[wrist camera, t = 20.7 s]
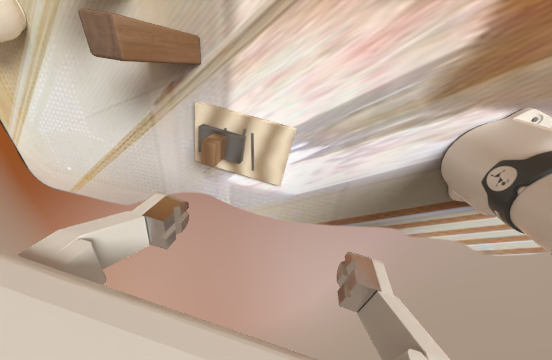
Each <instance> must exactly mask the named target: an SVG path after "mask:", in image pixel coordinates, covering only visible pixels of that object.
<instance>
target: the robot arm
mask: <svg viewBox="0 0 552 360" xmlns="http://www.w3.org/2000/svg"><path fill="white" fill-rule="evenodd" d="M533 118H534V119H533ZM532 119H533V120H532ZM531 120H532V121H531ZM441 173H442V176H443V178H444V180H445V182H446V183H447V185H448V194H449V197H450V198H451V199H453V200H455V201H462V202H467V203H468V204H469V205H471V206H472V207H473V208H475V209H476V210H477V211H479V212H480V213H482V214H484V215H492V216H497V217H498V218H499V219H500V220H502V221H503V222H504V223H505V224H507V225H509V226H511V227H512V228H513V229H515V230H517V231H519V232H521V233H524V234H526V235H527V236H528V237H530V238H531V239H532V240H533V241H535V242H536V243H537V244H538V245H540V246H541V247H542V248H543V249H545V250H546V251H547V252H548V253H550V254H551V255H552V118H551V117H550V116H548V115H546V114H544V113H542V112H540V111H538V110H536V109H533V108H525V109H522V110H520V111H518V112H516V113H514V114H512V115H511V116H509V117H507V118H505V119H502V120H499V121H495V122H491V123H487V124H484V125H481V126H479V127H477V128H475V129H473V130H471V131H469V132H467V133H466V134H464V135H463V136H461V137H460V138H459V139H458V140H457V141H455V142H454V143H453V144H452V146H451V147H450V148H449V149H448V151H447V152H446V154H445V156H444V158H443V161H442V165H441ZM188 205H189V204H188V202H187V201H184V200H181V199H178V198H175V197H172V196H169V195H166V194H163V193H160V192H159V193H155V194H154V195H153V196H151V197H150V198H149V199H147V200H146V201H144V202H143V203H142V204H140V205H139V206H138V207H136V208H135V209H134V210H132V211H131V212H130V211H126V212H122V213H118V214H115V215H111V216H107V217H104V218H100V219H96V220H93V221H89V222H86V223H82V224H78V225H75V226H71V227H68V228H64V229H61V230H58V231H56V232H54V233H53V234H51V235H49V236H48V237H46V238H45V239H43V240H41V241H40V242H38V243H36V244H35V245H33V246H31V247H30V248H28V249H27V250H25V251H23V252H22V253H20V254H18V255H14V254H11V253H8V252H5V251H2V250H0V360H317V359H314V358H311V357H309V356H306V355H303V354H300V353H297V352H294V351H291V350H288V349H286V348H283V347H280V346H277V345H274V344H271V343H268V342H265V341H262V340H260V339H257V338H254V337H251V336H248V335H245V334H242V333H239V332H236V331H234V330H231V329H228V328H225V327H222V326H219V325H216V324H213V323H211V322H207V321H205V320H202V319H199V318H196V317H193V316H190V315H188V314H185V313H181V312H179V311H176V310H173V309H170V308H167V307H164V306H162V305H158V304H156V303H153V302H150V301H147V300H144V299H141V298H138V297H135V296H133V295H130V294H127V293H124V292H121V291H118V290H115V289H112V288H109V287H107V286H104V285H103V284H104V283H105V282H106V276H105V274H104V271H103V269H104V268H106V267H108V266H110V265H112V264H114V263H116V262H118V261H120V260H122V259H124V258H126V257H128V256H130V255H132V254H134V253H136V252H138V251H140V250H142V249H143V248H146V247H147V246H149V245H154V246H157V247H160V248H164V249H167V248H168V247H169V246H170V245H171V244H172V243H173V241H175V239H176V234H178V233H180V232H182V231H183V230H184V229H185V227H186V225H187V223H188V220H189V214H188V212H187V211H186V210H187V209H188V208H189V206H188ZM337 283H338V284H339V286H340V289H339V290H338V299H339V306H341V307H344V308H346V309H349V310H352V311H355V312H357V313H358V316H359V318H360V319H361V321H362V323H363V325H364V327H365V329H366V331H367V332H368V334H369V336H370V338H371V340H372V342H373V344H374V346H375V347H376V349H377V351H378V353H379V355H380V357H381V359H382V360H450V359H449V358H448V357H447V355H446V354H445V353H444V352H443V351H442V349H441V348H440V347H439V346H438V345H437V344H436V342H435V341H434V340H433V339H432V338H431V336H430V335H429V334H428V333H427V332H426V331H425V330H424V328H423V327H422V326H421V325H420V323H418V321H417V320H416V319H415V317H414V316H413V315H412V314H411V313H410V312H409V310H408V309H407V308H406V307H405V306H404V305H403V303H402V302H401V301H400V300H399V299H398V297H395V296H394V295H393V292H392V289H391V286H390V283H389V280H388V277H387V274H386V271H385V268H384V265H383V263H382V262H381V261H378V260H375V259H371V258H368V257H365V256H362V255H358V254H355V253H352V252H348V253H347V254H346V255H345V261H343V262H341V263H340V265H339V267H338V271H337Z"/></svg>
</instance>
